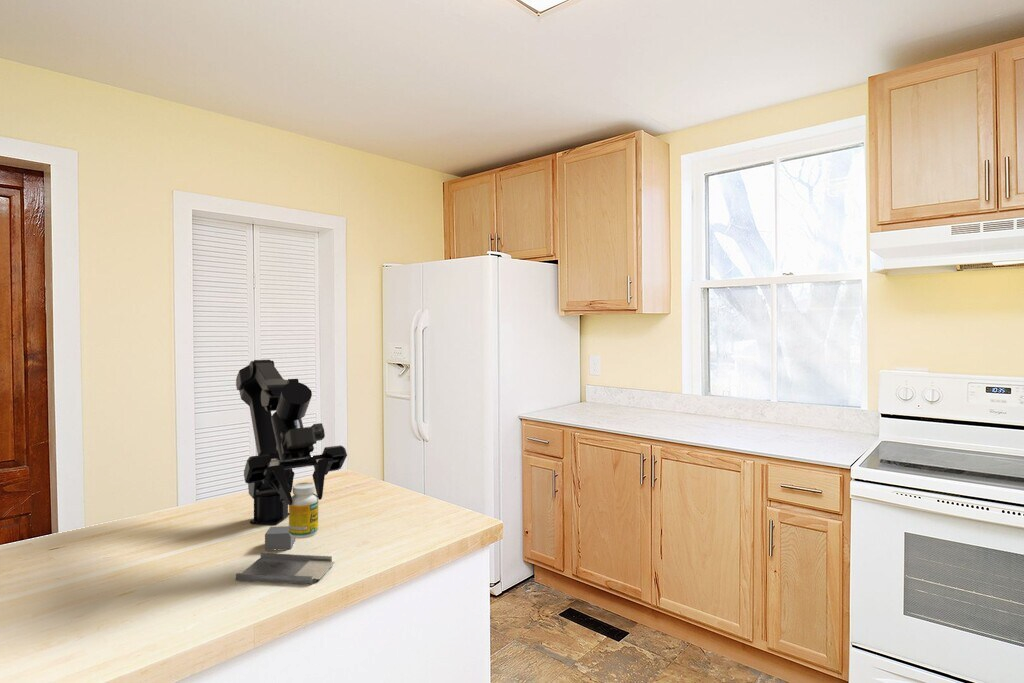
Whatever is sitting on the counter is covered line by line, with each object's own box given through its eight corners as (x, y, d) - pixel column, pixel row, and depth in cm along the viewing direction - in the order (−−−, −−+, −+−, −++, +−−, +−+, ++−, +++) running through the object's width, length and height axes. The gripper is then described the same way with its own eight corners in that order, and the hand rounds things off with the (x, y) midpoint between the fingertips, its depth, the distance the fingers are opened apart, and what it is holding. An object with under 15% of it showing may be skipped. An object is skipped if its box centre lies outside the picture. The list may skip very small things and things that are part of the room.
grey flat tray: (235, 580, 100) (235, 573, 100) (261, 559, 109) (261, 552, 109) (317, 584, 99) (317, 578, 99) (336, 562, 108) (336, 556, 108)
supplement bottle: (294, 528, 111) (295, 481, 111) (321, 528, 111) (322, 481, 111) (284, 539, 106) (284, 489, 105) (313, 539, 106) (313, 489, 105)
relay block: (264, 551, 113) (264, 534, 113) (270, 543, 117) (270, 526, 117) (290, 550, 114) (290, 533, 113) (295, 542, 117) (295, 525, 117)
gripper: (247, 414, 105) (261, 487, 97) (344, 406, 116) (364, 471, 108) (238, 447, 112) (250, 518, 103) (331, 437, 123) (349, 500, 114)
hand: (305, 501), depth 107 cm, fingers closed on supplement bottle, 5 cm apart
